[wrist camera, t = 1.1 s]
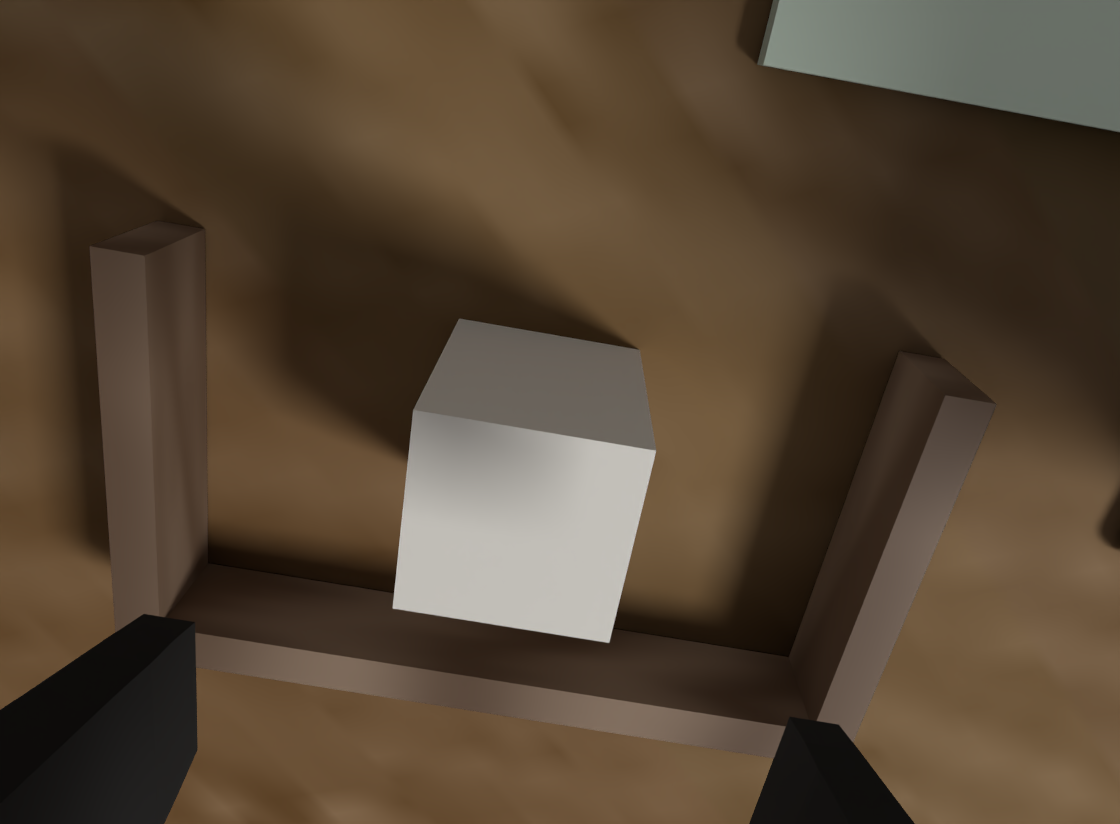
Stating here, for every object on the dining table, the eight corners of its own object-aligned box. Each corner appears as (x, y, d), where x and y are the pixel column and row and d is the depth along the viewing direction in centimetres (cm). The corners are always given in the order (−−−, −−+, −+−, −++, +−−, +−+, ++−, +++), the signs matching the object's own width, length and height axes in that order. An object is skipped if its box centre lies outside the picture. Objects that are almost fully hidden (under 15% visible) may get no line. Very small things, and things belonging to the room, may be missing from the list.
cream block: (639, 349, 18) (656, 450, 13) (605, 504, 19) (609, 643, 15) (459, 317, 18) (413, 409, 13) (439, 477, 19) (392, 608, 15)
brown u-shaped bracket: (944, 358, 18) (997, 404, 15) (815, 692, 21) (841, 769, 19) (157, 220, 17) (88, 245, 15) (169, 588, 21) (117, 655, 18)
